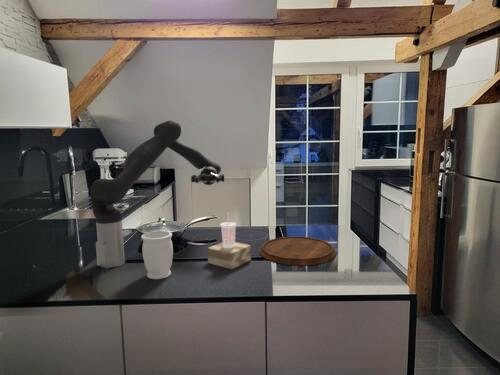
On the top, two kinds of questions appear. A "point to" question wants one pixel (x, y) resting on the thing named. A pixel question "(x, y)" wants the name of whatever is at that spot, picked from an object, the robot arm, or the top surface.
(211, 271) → the top surface
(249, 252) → the wooden riser
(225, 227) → the beverage cup
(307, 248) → the cutting board
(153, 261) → the jar
